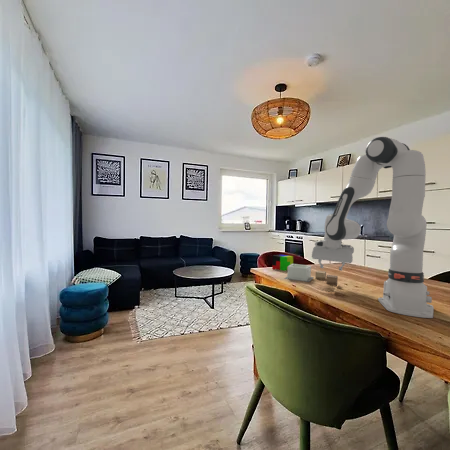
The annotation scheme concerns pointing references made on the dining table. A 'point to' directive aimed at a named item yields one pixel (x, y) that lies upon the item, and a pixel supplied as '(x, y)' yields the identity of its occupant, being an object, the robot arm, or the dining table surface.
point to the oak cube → (320, 275)
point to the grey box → (299, 272)
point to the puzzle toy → (281, 262)
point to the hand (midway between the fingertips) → (331, 269)
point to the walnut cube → (331, 279)
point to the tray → (302, 280)
